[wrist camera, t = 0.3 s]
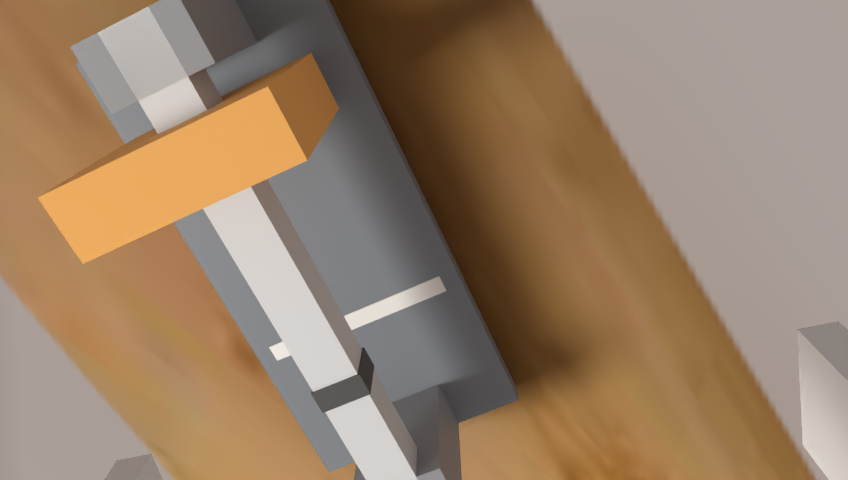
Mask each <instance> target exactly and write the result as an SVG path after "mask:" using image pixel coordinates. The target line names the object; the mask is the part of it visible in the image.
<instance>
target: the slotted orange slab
mask: <svg viewBox="0 0 848 480" xmlns="http://www.w3.org/2000/svg"><path fill="white" fill-rule="evenodd" d="M221 98H222V99H223V101H222V102H220V103H219V104H217V105H216V106H214V107H213V108H211V109H209V110H207V111H205V112H203V113H201V114H199V115H197V116H195V117H192V118H190V119H188V120H186V121H184V122H182V123H180V124H178V125H176V126H174V127H172V128H170V129H168V130H166V131H164V132H161V133H159V134H158V133H157V132H156V130H155V129H153V130H150V131H148V132H146V133H144V134H142V135H140V136H138V137H136V138H135V139H133V140H131V141H130V142H128V143H126V144H125V145H123V146H121V147H120V148H118V149H117V150H115V151H113V152H112V153H110V154H108V155H107V156H105V157H103V158H102V159H100V160H98V161H97V162H95V163H94V164H92V165H90V166H89V167H87V168H85V169H84V170H82V171H80V172H79V173H77V174H75V175H74V176H72V177H70V178H69V179H67V180H66V181H64V182H62V183H61V184H59V185H57V186H56V187H54V188H52V189H51V190H49V191H47V192H46V193H44V194H43V195H41V196H39V197H38V199H39V200H40V202H41V203H42V205H43V206H44V208H45V209H46V211H47V212H48V214H49V215H50V217H51V218H52V219H53V221H54V222H55V224H56V225H57V227H58V228H59V230H60V231H61V233H62V234H63V236H64V237H65V238H66V240H67V241H68V243H69V244H70V246H71V247H72V249H73V250H74V252H75V253H76V255H77V256H78V258H79V259H80V260H81V262H82V263H86V262H88V261H90V260H92V259H94V258H96V257H99V256H101V255H103V254H105V253H107V252H109V251H112V250H114V249H116V248H118V247H120V246H123V245H125V244H127V243H129V242H131V241H133V240H136V239H138V238H140V237H142V236H144V235H146V234H149V233H151V232H153V231H155V230H157V229H160V228H162V227H164V226H166V225H168V224H170V223H173V222H175V221H177V220H179V219H181V218H183V217H186V216H188V215H190V214H192V213H194V212H197V211H199V210H201V209H203V208H205V207H207V206H210V205H212V204H214V203H216V202H218V201H220V200H223V199H225V198H227V197H229V196H231V195H234V194H236V193H238V192H240V191H242V190H244V189H247V188H249V187H251V186H253V185H255V184H257V183H260V182H262V181H264V180H266V179H268V178H271V177H273V176H275V175H277V174H279V173H281V172H284V171H286V170H288V169H290V168H292V167H294V166H297V165H299V164H301V163H303V162H305V161H308V159H309V157H310V156H311V154H312V152H313V151H314V149H315V147H316V146H317V144H318V143H319V141H320V139H321V138H322V136H323V134H324V133H325V131H326V129H327V128H328V126H329V125H330V123H331V121H332V120H333V118H334V116H335V115H336V113H337V111H338V110H339V107H338V105H337V103H336V101H335V99H334V97H333V95H332V93H331V91H330V89H329V87H328V85H327V83H326V81H325V79H324V77H323V75H322V73H321V71H320V69H319V67H318V65H317V63H316V61H315V59H314V57H313V55H312V53H309V54H307V55H305V56H303V57H301V58H299V59H297V60H295V61H292V62H290V63H288V64H286V65H284V66H282V67H280V68H278V69H276V70H274V71H272V72H270V73H268V74H266V75H264V76H262V77H260V78H257V79H255V80H253V81H251V82H249V83H247V84H245V85H243V86H241V87H239V88H237V89H235V90H233V91H231V92H229V93H227V94H225V95H223V96H221Z"/></svg>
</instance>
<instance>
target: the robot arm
mask: <svg viewBox="0 0 848 480" xmlns="http://www.w3.org/2000/svg"><path fill="white" fill-rule="evenodd" d="M798 352H799V374H800V395H801V417H802V437H803V446H804V447H805V449H806V450H807V451H808V453H809V454H810V455H811V457H812V458H813V459H814V461H815V462H816V463H817V465H818V466H819V467H820V468H821V470H822V471H823V472H824V474H825V475H826V477H827V478H828V479H829V480H848V330H847V329H846V328H845V327H844V326H843V325H842V324H841V323H839V322H833V323H828V324H823V325H818V326H812V327H808V328H802V329H798ZM105 480H163V479H162V477H161V475H160V473H159V470H158V468H157V466H156V464H155V462H154V459H153V457H152V455H151V454H148V455H143V456H138V457H133V458H127V459H122V460H117V461H116V462H115V464H114V465H113V467H112V469H111V471H110V472H109V474H108V475H107V477H106V479H105Z"/></svg>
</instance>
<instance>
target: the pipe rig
mask: <svg viewBox="0 0 848 480" xmlns="http://www.w3.org/2000/svg"><path fill="white" fill-rule="evenodd" d="M71 49H72V51H73V52H74V54H75V56H76V57H77V59H78V60H79V62H77V63H75V64H76V66H77V67H78V69H79V71H80V72H81V74H82V76H83V77H84V79H85V80H86V82H87V84H88V85H89V87H90V88H91V90H92V92H93V93H94V95H95V96H96V98H97V100H98V101H99V103H100V105H101V106H102V108H103V109H104V111H105V113H106V114H107V116H108V117H109V119H110V121H111V122H112V124H113V125H114V127H115V129H116V130H117V132H118V134H119V135H120V137H121V138H122V140H123V142H124V143H125V144H126V143H128V142H130V141H131V140H133V139H135V138H136V137H138V136H140V135H142V134H144V133H146V132H148V131H150V130H153V129H155V130H156V132H157V133H158V134H159V133H161V132H164V131H166V130H168V129H170V128H172V127H174V126H176V125H178V124H180V123H182V122H184V121H186V120H188V119H190V118H192V117H195V116H197V115H199V114H201V113H203V112H205V111H207V110H209V109H211V108H213V107H214V106H216V105H217V104H219V103H220V102H222V101H223V99H222V98H221V96H223V95H225V94H227V93H229V92H231V91H233V90H235V89H237V88H239V87H241V86H243V85H245V84H247V83H249V82H251V81H253V80H255V79H257V78H260V77H262V76H264V75H266V74H268V73H270V72H272V71H274V70H276V69H278V68H280V67H282V66H284V65H286V64H288V63H290V62H292V61H295V60H297V59H299V58H301V57H303V56H305V55H307V54H309V53H312V55H313V57H314V59H315V61H316V63H317V65H318V67H319V69H320V71H321V73H322V75H323V77H324V79H325V81H326V83H327V85H328V87H329V89H330V91H331V93H332V95H333V97H334V99H335V101H336V103H337V105H338V107H339V110H338V111H337V113H336V115H335V116H334V118H333V120H332V121H331V123H330V125H329V126H328V128H327V129H326V131H325V133H324V134H323V136H322V138H321V139H320V141H319V143H318V144H317V146H316V147H315V149H314V151H313V152H312V154H311V156H310V157H309V159H308V161H305V162H303V163H301V164H299V165H297V166H294V167H292V168H290V169H288V170H286V171H284V172H281V173H279V174H277V175H275V176H273V177H271V178H268V179H266V180H264V181H262V182H260V183H257V184H255V185H253V186H251V187H249V188H247V189H244V190H242V191H240V192H238V193H236V194H234V195H231V196H229V197H227V198H225V199H223V200H220V201H218V202H216V203H214V204H212V205H210V206H207V207H205V208H203V209H201V210H199V211H197V212H194V213H192V214H190V215H188V216H186V217H183V218H181V219H179V220H177V221H175V222H174V224H175V225H176V227H177V229H178V230H179V232H180V233H181V235H182V237H183V238H184V240H185V241H186V243H187V245H188V246H189V248H190V249H191V251H192V253H193V254H194V256H195V258H196V259H197V261H198V262H199V264H200V266H201V267H202V269H203V270H204V272H205V274H206V275H207V277H208V278H209V280H210V282H211V283H212V285H213V287H214V288H215V290H216V291H217V293H218V295H219V296H220V298H221V299H222V301H223V303H224V304H225V306H226V307H227V309H228V311H229V312H230V314H231V316H232V317H233V319H234V320H235V322H236V324H237V325H238V327H239V328H240V330H241V332H242V333H243V335H244V336H245V338H246V340H247V341H248V343H249V345H250V346H251V348H252V349H253V351H254V353H255V354H256V356H257V357H258V359H259V361H260V362H261V364H262V365H263V367H264V369H265V370H266V372H267V374H268V375H269V377H270V378H271V380H272V382H273V383H274V385H275V386H276V388H277V390H278V391H279V393H280V394H281V396H282V398H283V399H284V401H285V403H286V404H287V406H288V407H289V409H290V411H291V412H292V414H293V415H294V417H295V419H296V420H297V422H298V423H299V425H300V427H301V428H302V430H303V432H304V433H305V435H306V436H307V438H308V440H309V441H310V443H311V444H312V446H313V448H314V449H315V451H316V452H317V454H318V456H319V457H320V459H321V461H322V462H323V464H324V465H325V467H326V469H327V470H328V472H330V471H333V470H335V469H338V468H340V467H343V466H346V465H348V464H351V463H354V462H355V463H356V471H355V477H354V480H462V477H461V460H460V442H459V425H458V423H459V422H462V421H464V420H467V419H469V418H472V417H475V416H477V415H480V414H483V413H485V412H488V411H491V410H493V409H496V408H498V407H501V406H504V405H506V404H509V403H512V402H514V401H517V400H519V399H518V394H517V389H516V385H515V383H514V381H513V379H512V377H511V375H510V373H509V371H508V369H507V367H506V364H505V362H504V360H503V358H502V356H501V354H500V352H499V350H498V348H497V346H496V344H495V342H494V340H493V338H492V335H491V333H490V331H489V329H488V327H487V325H486V323H485V321H484V319H483V317H482V315H481V313H480V311H479V309H478V307H477V304H476V302H475V300H474V298H473V296H472V294H471V292H470V290H469V288H468V286H467V284H466V282H465V280H464V278H463V275H462V273H461V271H460V269H459V267H458V265H457V263H456V261H455V259H454V257H453V255H452V253H451V251H450V249H449V247H448V244H447V242H446V240H445V238H444V236H443V234H442V232H441V230H440V228H439V226H438V224H437V222H436V220H435V218H434V215H433V213H432V211H431V209H430V207H429V205H428V203H427V201H426V199H425V197H424V195H423V193H422V191H421V189H420V187H419V184H418V182H417V180H416V178H415V176H414V174H413V172H412V170H411V168H410V166H409V164H408V162H407V160H406V158H405V155H404V153H403V151H402V149H401V147H400V145H399V143H398V141H397V139H396V137H395V135H394V133H393V131H392V129H391V127H390V124H389V122H388V120H387V118H386V116H385V114H384V112H383V110H382V108H381V106H380V104H379V102H378V100H377V98H376V95H375V93H374V91H373V89H372V87H371V85H370V83H369V81H368V79H367V77H366V75H365V73H364V71H363V69H362V67H361V64H360V62H359V60H358V58H357V56H356V54H355V52H354V50H353V48H352V46H351V44H350V42H349V40H348V38H347V35H346V33H345V31H344V29H343V27H342V25H341V23H340V21H339V19H338V17H337V15H336V13H335V11H334V9H333V7H332V4H331V2H330V0H160V1H158V2H156V3H154V4H152V5H150V6H148V7H146V8H144V9H142V10H140V11H138V12H137V13H135V14H133V15H131V16H129V17H127V18H125V19H123V20H121V21H119V22H117V23H115V24H113V25H111V26H110V27H108V28H106V29H104V30H102V31H100V32H98V33H96V34H94V35H92V36H90V37H88V38H86V39H84V40H82V41H81V42H79V43H77V44H75V45H73V46H71Z"/></svg>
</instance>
